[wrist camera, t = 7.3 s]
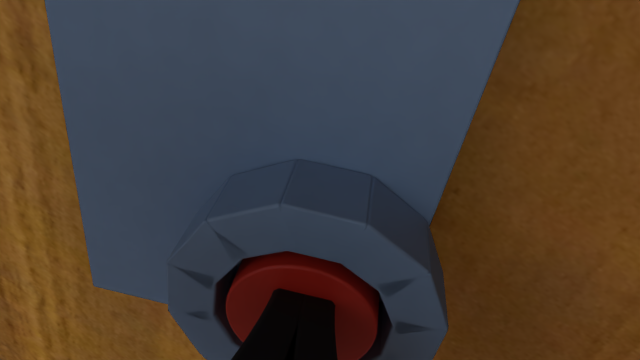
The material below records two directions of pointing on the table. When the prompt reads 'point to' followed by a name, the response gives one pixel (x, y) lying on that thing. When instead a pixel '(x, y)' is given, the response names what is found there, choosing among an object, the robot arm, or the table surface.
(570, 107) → the table surface
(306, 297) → the robot arm
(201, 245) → the blue button base
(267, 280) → the button
